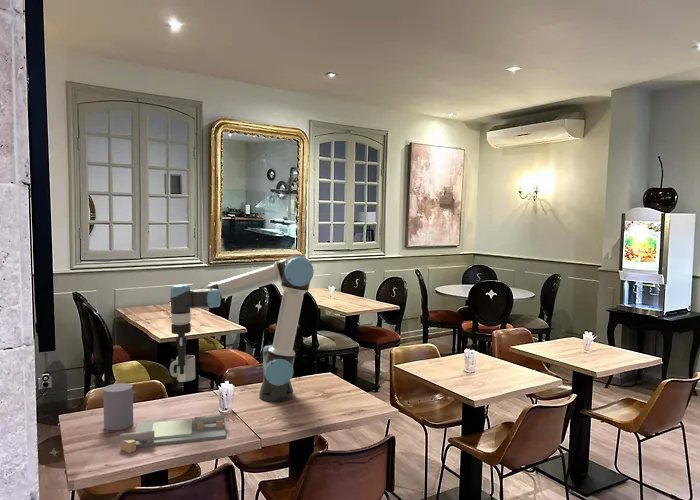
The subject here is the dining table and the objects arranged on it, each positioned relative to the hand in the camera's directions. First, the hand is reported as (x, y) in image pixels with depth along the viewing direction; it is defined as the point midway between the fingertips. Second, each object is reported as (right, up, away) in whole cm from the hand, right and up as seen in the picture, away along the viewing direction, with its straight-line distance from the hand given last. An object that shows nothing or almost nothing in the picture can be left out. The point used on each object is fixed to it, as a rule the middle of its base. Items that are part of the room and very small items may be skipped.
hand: (182, 378), depth 218 cm
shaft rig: (+4, -16, -21) cm, 26 cm away
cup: (0, -1, 0) cm, 1 cm away
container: (-20, -15, -13) cm, 29 cm away
